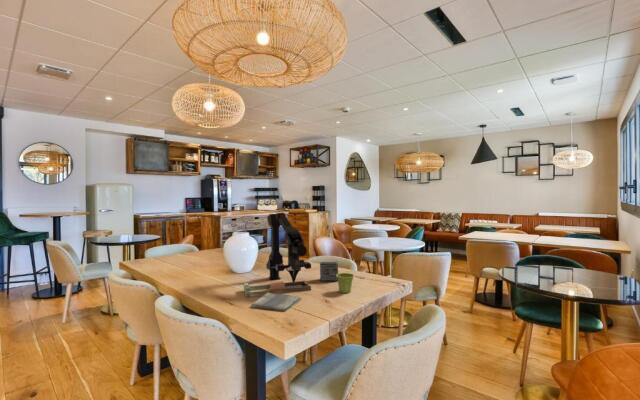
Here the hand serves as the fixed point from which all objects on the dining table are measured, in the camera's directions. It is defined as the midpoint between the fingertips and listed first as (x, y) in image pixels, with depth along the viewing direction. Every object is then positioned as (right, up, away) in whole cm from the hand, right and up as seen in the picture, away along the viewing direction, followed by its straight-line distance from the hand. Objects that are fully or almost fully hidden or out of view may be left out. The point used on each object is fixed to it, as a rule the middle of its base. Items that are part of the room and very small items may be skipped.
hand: (293, 282), depth 173 cm
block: (-8, -4, -3) cm, 10 cm away
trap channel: (-8, -4, -3) cm, 10 cm away
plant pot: (+28, -4, -7) cm, 29 cm away
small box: (+20, -3, +16) cm, 26 cm away
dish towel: (-6, -5, -23) cm, 24 cm away
